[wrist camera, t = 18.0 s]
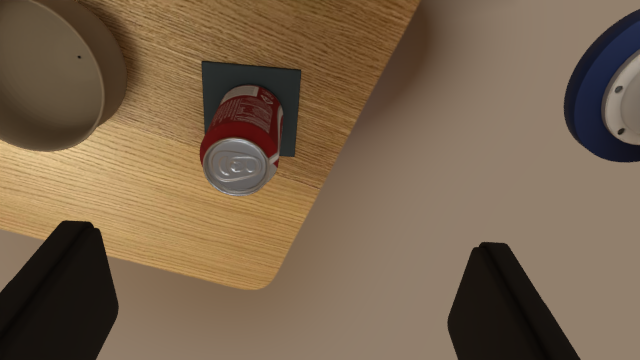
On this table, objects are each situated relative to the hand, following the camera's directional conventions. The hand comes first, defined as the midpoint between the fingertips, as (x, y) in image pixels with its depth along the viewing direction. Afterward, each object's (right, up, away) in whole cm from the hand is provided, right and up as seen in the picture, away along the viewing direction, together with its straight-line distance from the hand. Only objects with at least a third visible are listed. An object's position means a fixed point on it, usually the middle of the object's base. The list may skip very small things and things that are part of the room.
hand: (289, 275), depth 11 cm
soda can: (-7, +10, +34) cm, 36 cm away
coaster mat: (-7, +10, +34) cm, 36 cm away
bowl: (-23, +15, +30) cm, 41 cm away
